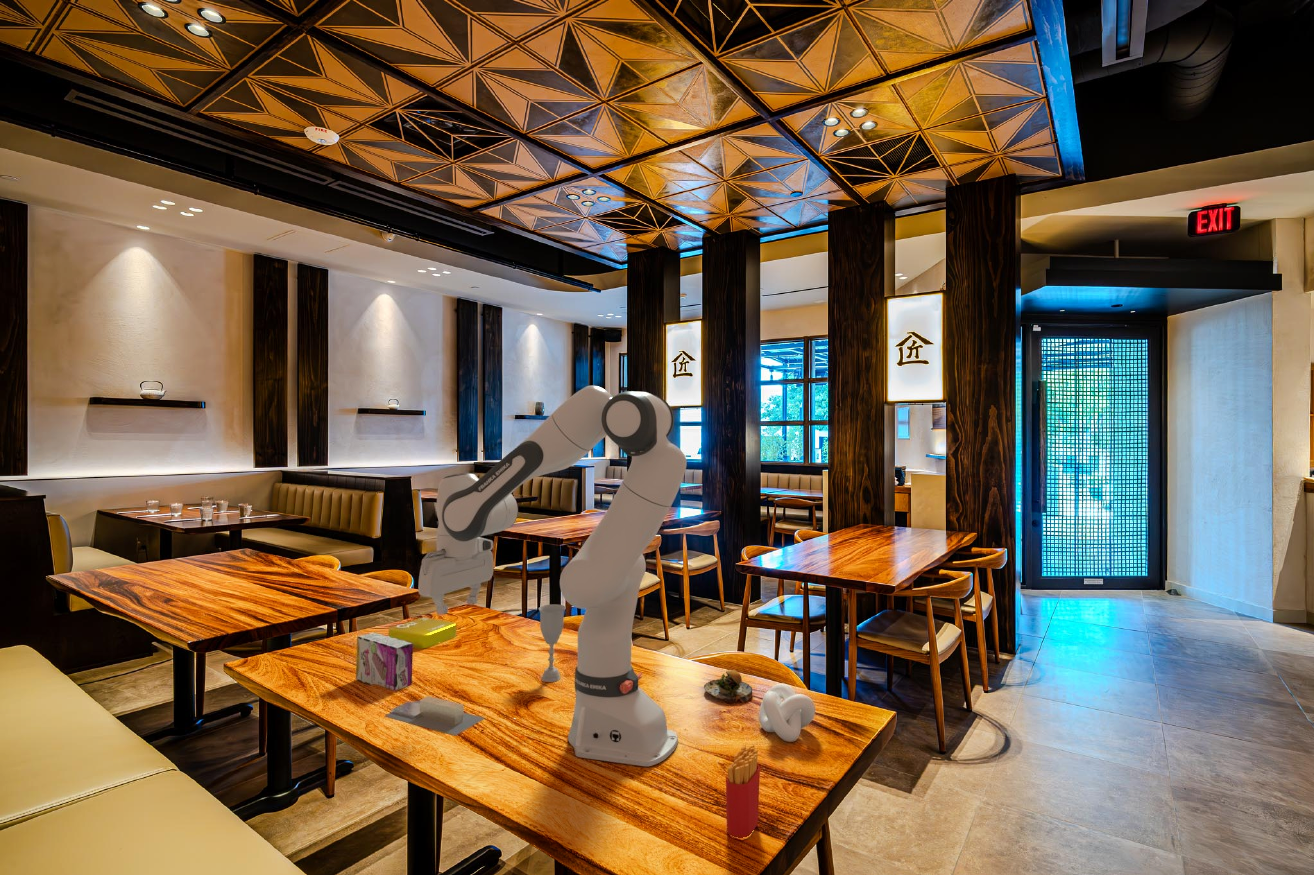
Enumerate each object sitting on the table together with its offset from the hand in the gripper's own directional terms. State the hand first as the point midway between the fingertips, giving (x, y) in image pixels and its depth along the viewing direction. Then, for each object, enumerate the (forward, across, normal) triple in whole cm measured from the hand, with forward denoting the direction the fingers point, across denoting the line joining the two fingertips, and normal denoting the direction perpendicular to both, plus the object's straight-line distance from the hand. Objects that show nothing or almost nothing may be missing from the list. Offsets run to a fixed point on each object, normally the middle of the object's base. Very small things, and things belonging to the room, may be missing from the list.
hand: (457, 608), depth 138 cm
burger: (+25, +37, -51) cm, 68 cm away
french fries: (+25, -13, -69) cm, 74 cm away
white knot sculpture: (+25, +22, -67) cm, 75 cm away
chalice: (+24, +27, -6) cm, 37 cm away
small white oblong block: (+22, -5, +4) cm, 23 cm away
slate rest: (+23, -5, +2) cm, 24 cm away
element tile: (+23, +37, +46) cm, 64 cm away
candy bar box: (+17, +4, +20) cm, 27 cm away
